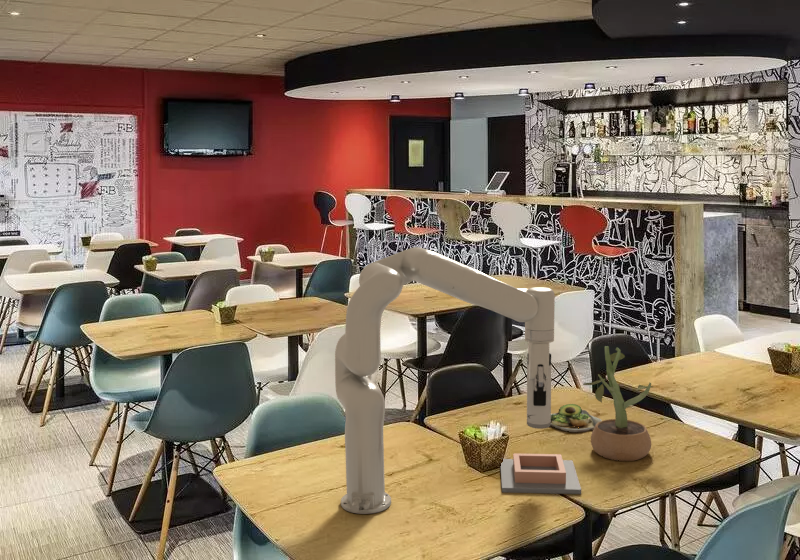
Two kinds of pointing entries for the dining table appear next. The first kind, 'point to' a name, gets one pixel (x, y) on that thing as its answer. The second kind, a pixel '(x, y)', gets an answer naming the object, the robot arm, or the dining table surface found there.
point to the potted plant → (619, 420)
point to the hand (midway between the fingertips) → (538, 400)
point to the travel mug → (539, 414)
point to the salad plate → (573, 419)
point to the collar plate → (539, 474)
